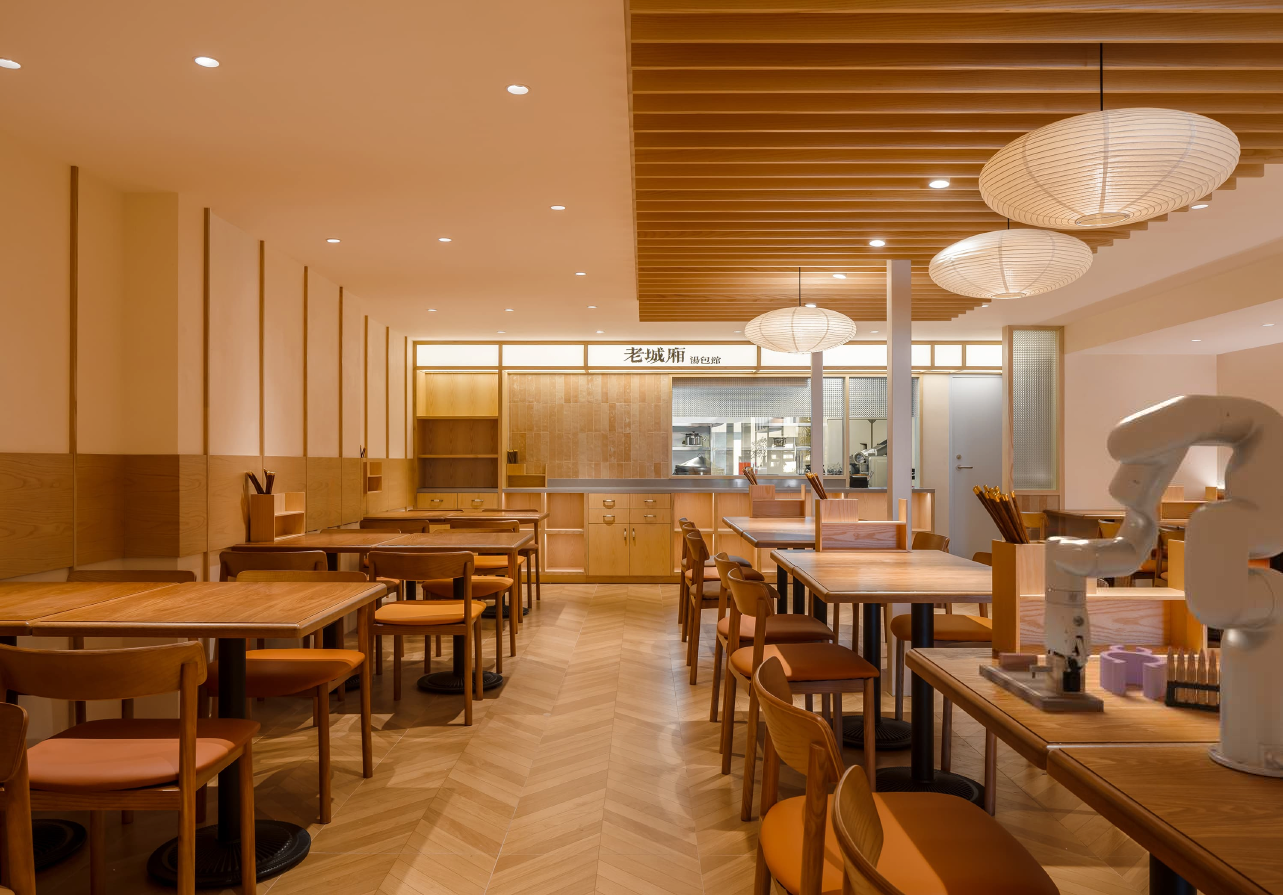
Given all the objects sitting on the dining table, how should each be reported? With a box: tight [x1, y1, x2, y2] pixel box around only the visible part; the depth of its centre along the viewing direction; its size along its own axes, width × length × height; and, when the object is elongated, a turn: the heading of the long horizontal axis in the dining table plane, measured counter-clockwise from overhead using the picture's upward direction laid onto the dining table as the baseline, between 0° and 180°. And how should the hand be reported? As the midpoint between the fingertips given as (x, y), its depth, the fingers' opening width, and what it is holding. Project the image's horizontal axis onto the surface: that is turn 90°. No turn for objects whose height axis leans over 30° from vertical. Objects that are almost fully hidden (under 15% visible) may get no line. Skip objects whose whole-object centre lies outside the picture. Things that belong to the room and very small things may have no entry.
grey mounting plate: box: [978, 652, 1105, 712], centre depth 174 cm, size 28×12×5 cm, turn 2°
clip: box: [1099, 644, 1167, 701], centre depth 179 cm, size 20×12×7 cm, turn 152°
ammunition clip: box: [1164, 645, 1220, 714], centre depth 162 cm, size 11×2×12 cm, turn 65°
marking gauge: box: [1030, 653, 1086, 694], centre depth 166 cm, size 4×10×7 cm, turn 92°
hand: (1065, 687), depth 166 cm, fingers closed on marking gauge, 4 cm apart
